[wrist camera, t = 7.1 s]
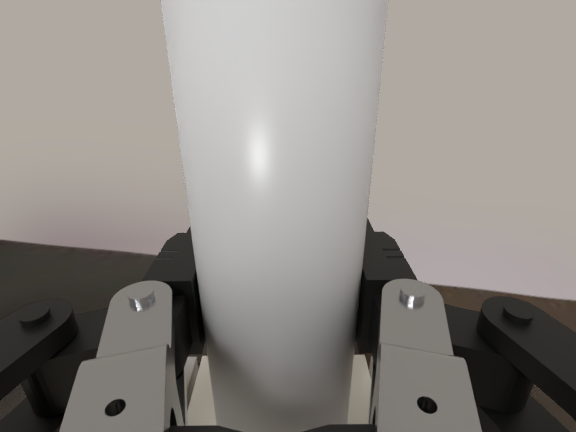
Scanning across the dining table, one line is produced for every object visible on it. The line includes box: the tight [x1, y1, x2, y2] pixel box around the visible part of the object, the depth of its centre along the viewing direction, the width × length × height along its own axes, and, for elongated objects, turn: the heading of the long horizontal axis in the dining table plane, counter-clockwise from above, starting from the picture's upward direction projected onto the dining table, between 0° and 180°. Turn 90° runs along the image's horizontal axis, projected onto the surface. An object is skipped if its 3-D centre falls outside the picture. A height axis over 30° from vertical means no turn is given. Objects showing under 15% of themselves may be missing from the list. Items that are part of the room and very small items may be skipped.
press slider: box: [161, 0, 388, 432], centre depth 9 cm, size 8×7×20 cm
